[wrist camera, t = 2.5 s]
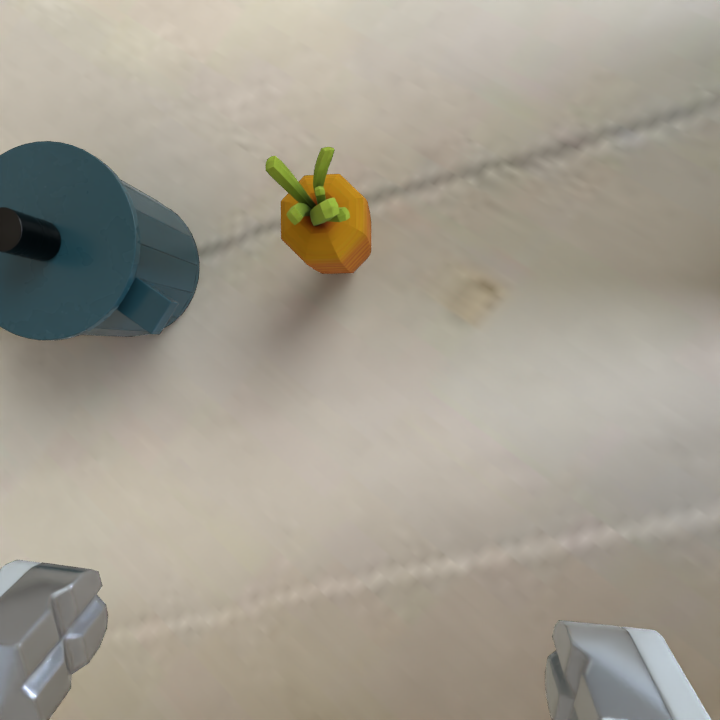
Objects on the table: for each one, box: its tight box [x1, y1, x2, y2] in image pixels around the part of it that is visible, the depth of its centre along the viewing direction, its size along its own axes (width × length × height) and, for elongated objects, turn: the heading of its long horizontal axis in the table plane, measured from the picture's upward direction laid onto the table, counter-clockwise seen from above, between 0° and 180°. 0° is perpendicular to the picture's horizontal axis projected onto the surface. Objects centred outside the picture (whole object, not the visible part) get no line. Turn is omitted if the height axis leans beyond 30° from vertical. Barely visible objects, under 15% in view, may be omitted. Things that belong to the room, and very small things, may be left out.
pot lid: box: [0, 141, 140, 340], centre depth 26 cm, size 12×12×4 cm
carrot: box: [266, 147, 371, 274], centre depth 27 cm, size 5×5×15 cm
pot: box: [81, 180, 199, 337], centre depth 32 cm, size 11×16×8 cm
